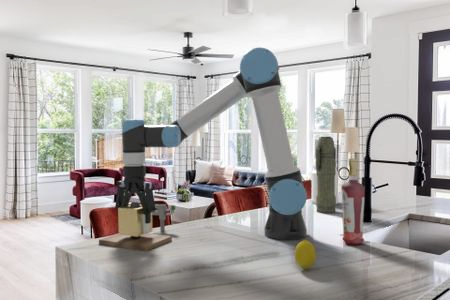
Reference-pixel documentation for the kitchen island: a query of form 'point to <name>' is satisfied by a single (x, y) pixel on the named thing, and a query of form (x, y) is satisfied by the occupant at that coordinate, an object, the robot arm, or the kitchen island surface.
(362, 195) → the liquor
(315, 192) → the bottle
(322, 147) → the thermos
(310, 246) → the lemon
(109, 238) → the wooden base with rod
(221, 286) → the kitchen island surface
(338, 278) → the kitchen island surface
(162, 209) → the mechanical component
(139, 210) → the hollow square tube
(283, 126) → the robot arm
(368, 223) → the kitchen island surface
